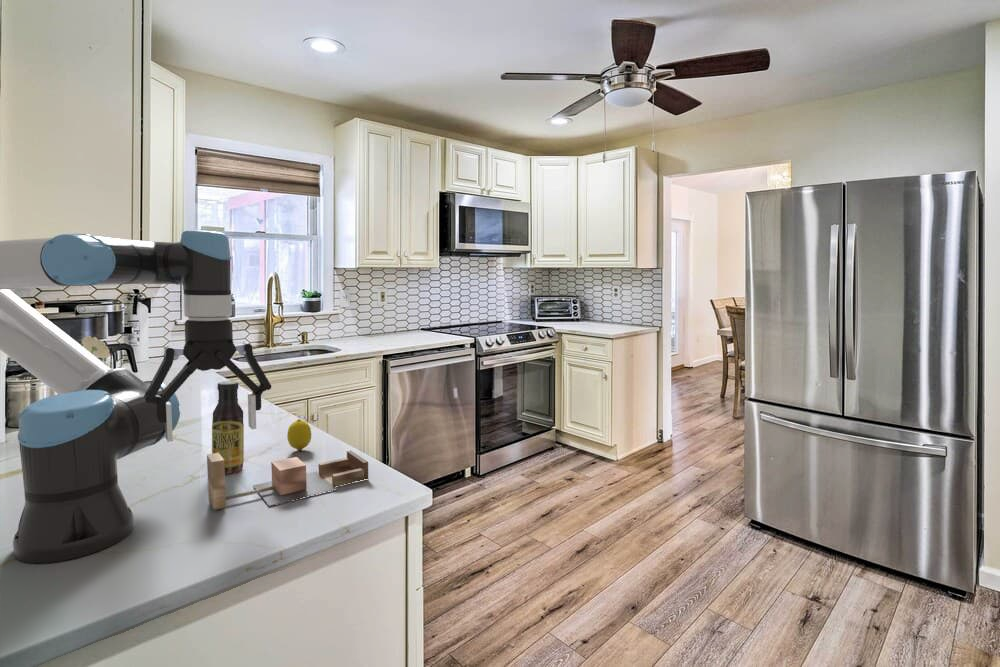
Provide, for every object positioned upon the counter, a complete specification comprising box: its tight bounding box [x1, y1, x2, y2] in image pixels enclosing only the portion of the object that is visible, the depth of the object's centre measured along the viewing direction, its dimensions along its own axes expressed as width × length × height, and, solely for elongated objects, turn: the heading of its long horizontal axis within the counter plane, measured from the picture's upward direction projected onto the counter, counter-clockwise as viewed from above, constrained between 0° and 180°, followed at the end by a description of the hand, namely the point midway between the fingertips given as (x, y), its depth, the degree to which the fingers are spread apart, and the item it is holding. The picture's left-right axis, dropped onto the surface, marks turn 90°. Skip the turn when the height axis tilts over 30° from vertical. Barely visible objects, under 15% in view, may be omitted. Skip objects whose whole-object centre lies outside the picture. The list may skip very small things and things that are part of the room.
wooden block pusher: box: [206, 453, 307, 511], centre depth 102 cm, size 16×6×9 cm, turn 128°
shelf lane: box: [252, 449, 369, 507], centre depth 109 cm, size 20×12×4 cm, turn 128°
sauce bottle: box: [211, 380, 245, 475], centre depth 115 cm, size 6×6×20 cm
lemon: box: [286, 418, 312, 452], centre depth 129 cm, size 6×6×8 cm
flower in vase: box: [81, 335, 111, 359], centre depth 151 cm, size 13×11×25 cm
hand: (212, 433), depth 96 cm, fingers open, 13 cm apart
